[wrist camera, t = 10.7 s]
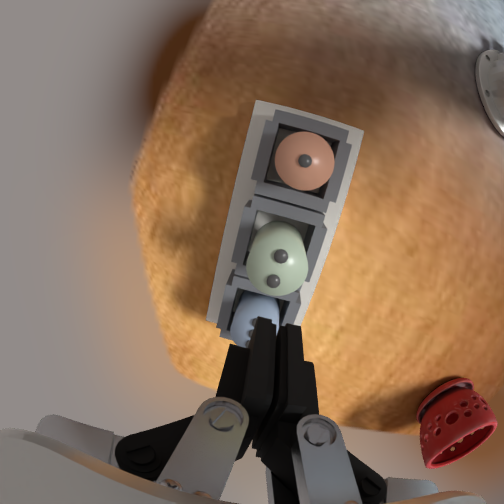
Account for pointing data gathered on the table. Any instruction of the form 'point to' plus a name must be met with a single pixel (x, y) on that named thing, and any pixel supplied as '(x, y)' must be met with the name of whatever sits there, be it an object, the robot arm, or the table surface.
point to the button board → (280, 208)
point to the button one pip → (304, 161)
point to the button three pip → (252, 315)
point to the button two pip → (277, 259)
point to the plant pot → (453, 422)
